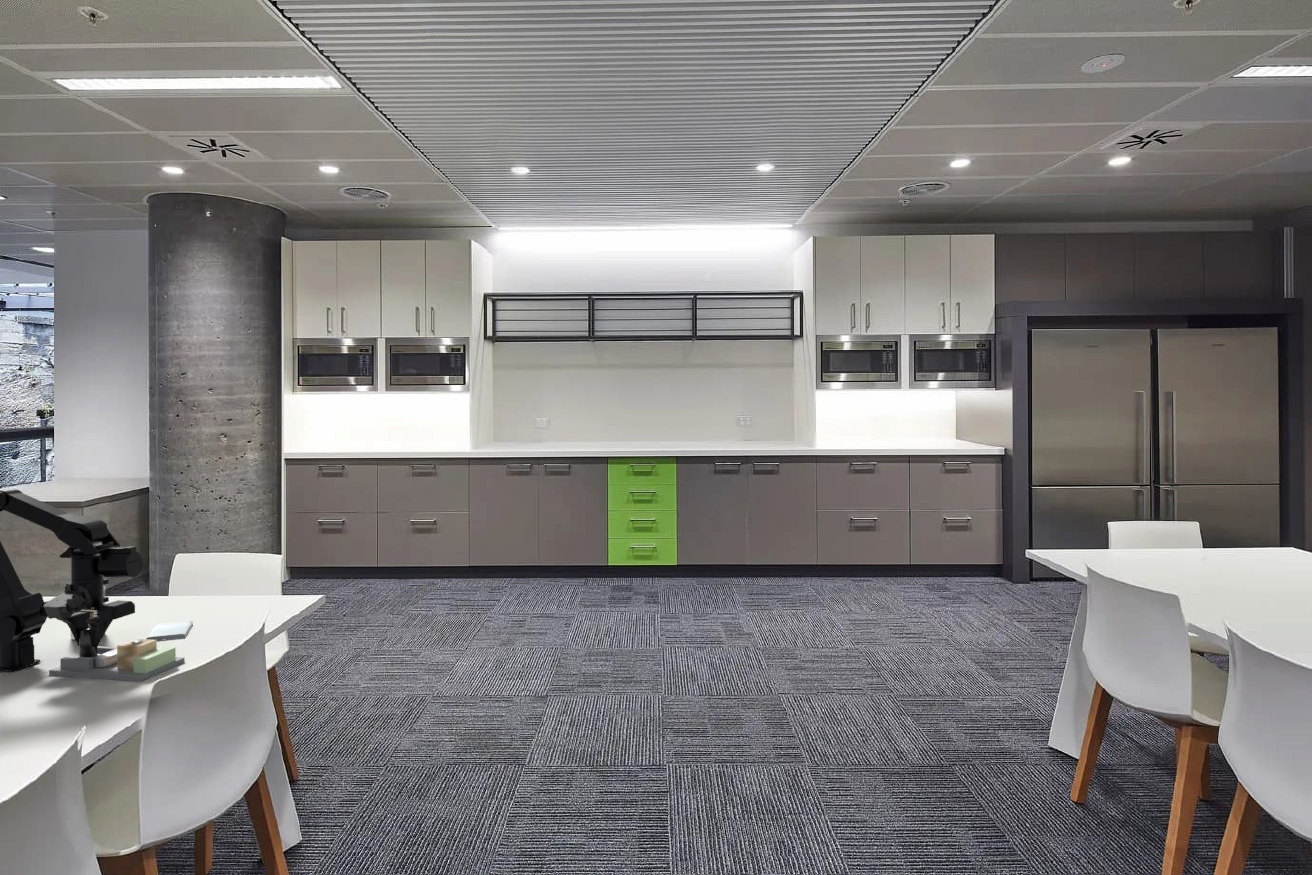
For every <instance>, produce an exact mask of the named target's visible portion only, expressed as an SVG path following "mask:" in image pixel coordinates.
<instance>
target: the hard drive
mask: <svg viewBox="0 0 1312 875" xmlns="http://www.w3.org/2000/svg"><path fill="white" fill-rule="evenodd" d="M192 626H193V620H186V621H184V620H183V621H174V622H173V621H172V622H164V623H162V622H161V623H157V624H155V626H154V628H152V629H151V631H150V632H149V634H148V636H147V637H146V638H145V639H150V640H157V641H163V639H167V640H173V639H174V640H175V638H178V639H186V637H187V635H188V633H189V632H190V630H191V628H192Z"/></svg>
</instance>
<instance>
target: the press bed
mask: <svg viewBox="0 0 1312 875" xmlns="http://www.w3.org/2000/svg"><path fill="white" fill-rule="evenodd" d="M114 649H117V646H115V647H113V646H102V645H101V646H100V645H98V654H103V653H106V652H109V651H111V650H114ZM176 651H177V650H176V647H174V646H162V647H159V648H157V649H156V650H154V651H151V652H149V653H146V654H144V655H141V656H139V657H136V658H134V670H133V669H119V668H117V663H115V664H112V665H110V666H107V667H93V659H84V658H78V657H70V656H69V657H68V656H67V657H66V656H64V657H61V658H60V659H59V660H60V662H59V663H60V666H57V667H54V668H51V669H48V675H49V676H61V677H62V676H63V677H74V678H87V679H88V678H89V679H91V678H92V679H100V680H101V679H102V680H103V679H104V680H114V681H116V680H117V681H131V682H143V681H145V680H147V679H149V678H152V677H154V676H156V675H158V674H160V673H163V672H165V671H167V670H169V669H173V668H174V667H176V666H179V665H181V664H183V663H185V657H179V656H176Z"/></svg>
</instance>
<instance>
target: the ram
mask: <svg viewBox="0 0 1312 875" xmlns="http://www.w3.org/2000/svg"><path fill="white" fill-rule="evenodd" d="M98 646H99V645H98ZM98 646H97V647H93V646H92V641H91V627H84V628H81V629H79V646H78V647H79V648H78V649H79V651H78V652H79V654H78V655H79V656H77V658H84V659H93V667H107V666H110V665H112V664H115V663H117V649H114V650H111V651H109V652H106V653H103V654H98Z"/></svg>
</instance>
